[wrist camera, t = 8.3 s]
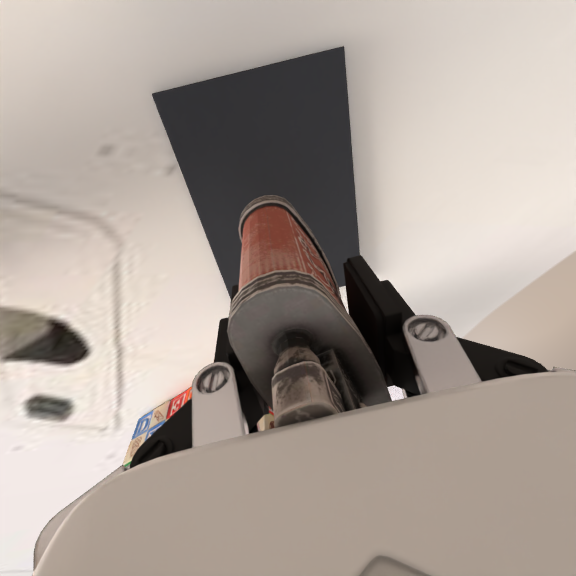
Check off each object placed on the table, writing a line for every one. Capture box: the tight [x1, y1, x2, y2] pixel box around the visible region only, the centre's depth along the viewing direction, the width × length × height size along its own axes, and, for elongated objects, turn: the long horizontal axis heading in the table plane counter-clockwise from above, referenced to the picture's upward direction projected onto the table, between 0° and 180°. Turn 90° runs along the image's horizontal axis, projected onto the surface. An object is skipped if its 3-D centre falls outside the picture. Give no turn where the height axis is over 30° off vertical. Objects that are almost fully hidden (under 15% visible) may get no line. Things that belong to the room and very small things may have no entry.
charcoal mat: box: [152, 46, 360, 298], centre depth 26 cm, size 14×20×1 cm
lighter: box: [227, 195, 392, 428], centre depth 10 cm, size 8×3×10 cm, turn 26°
